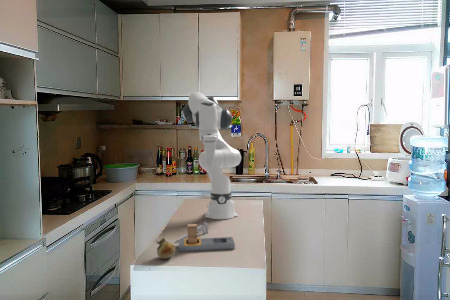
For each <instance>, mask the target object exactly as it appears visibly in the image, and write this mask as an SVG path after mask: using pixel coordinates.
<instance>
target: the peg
mask: <svg viewBox="0 0 450 300" xmlns="http://www.w3.org/2000/svg"><path fill="white" fill-rule="evenodd" d="M197 225H198V224H196V223H191V224H187V234H188V238H187V239H188V244H193V243H197V238H198V233H197V227H198V226H197Z"/></svg>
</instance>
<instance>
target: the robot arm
mask: <svg viewBox="0 0 450 300" xmlns="http://www.w3.org/2000/svg"><path fill="white" fill-rule="evenodd" d="M187 101H188V102H187V104H185V106H184V107H183V108H182V109H181V110H182V116H183V117H182V118H183V119H184V121H186V122H187V123H188V124H189V123H190V124H191V123H193V124H194V126H195V128H197V129H198V131H199V141H202V142H201V143H202V144H203V145H204V148H203V149H204V151H202V152H200V153H199V157H198V163H199V166H200V167H201V168H202V169H203V170H204V171H205V172H206V173H207V175H208V176H209V177H208V178H209V179H210V189H211V192H210V201H208V203H207V207H206V208H207V212H206V214H205V216H204V218H208V219H212V220H228V219H229V220H230V219H232V218H235V217H238V215H239V214H238V213H237V212H235V201H234V200H232V191H231V179H230V177H229V176H228V175H226V174H224V173H223V172H222V171H223V169H230V168H234V167H237V166H239V165H240V163H241V161H242V155H241V152H240V151H239V150H238V149H236V148H233V147H232V146H230V145H229V143H227V141H225V140H224V139H223V137H222V135H221V133H220V131H219V130H228V128H230V127H231V125H232V122H233V118H232V114H231V112H230V111H229V110H228V109H227V108H223V107H222V106H221V105H220V104H219V102H218V100H217V99H216V98H215V97H214V96H207V97H206V95H205V94H203V93H202V92H200V91H193V92H191V94H190V95H189V96H188V100H187Z"/></svg>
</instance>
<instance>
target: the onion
mask: <svg viewBox="0 0 450 300" xmlns="http://www.w3.org/2000/svg"><path fill="white" fill-rule="evenodd" d="M155 243H156V244H157V245H159V246H157V248H156V253H157V256H158V258H160V259H161V260H167V259H170V258H171V257H172V256H173V255H174V254H175V251H176V246H175V245H174V244H173V243H172V242H169V241H167V240H166V238H164V237H163V238H161V239H160V240H158V239H156V241H155Z"/></svg>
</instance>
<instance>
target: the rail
mask: <svg viewBox="0 0 450 300" xmlns="http://www.w3.org/2000/svg"><path fill="white" fill-rule="evenodd" d="M235 248H236V244H235V240H234V238H233V236H226V237H224V236H223V237H208V238H207V237H206V238H205V237H203V238H201V237H197V243H193V244H188V238H186V239H182V240H179V242H178V252H179V253H184V252H201V251H203V252H205V251H207V252H208V251H222V250H223V251H224V250H236V249H235Z"/></svg>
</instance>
